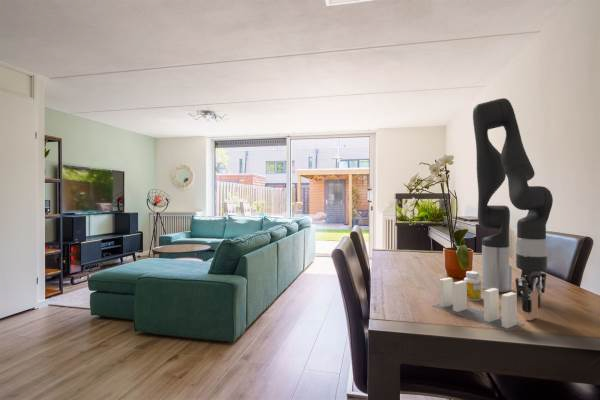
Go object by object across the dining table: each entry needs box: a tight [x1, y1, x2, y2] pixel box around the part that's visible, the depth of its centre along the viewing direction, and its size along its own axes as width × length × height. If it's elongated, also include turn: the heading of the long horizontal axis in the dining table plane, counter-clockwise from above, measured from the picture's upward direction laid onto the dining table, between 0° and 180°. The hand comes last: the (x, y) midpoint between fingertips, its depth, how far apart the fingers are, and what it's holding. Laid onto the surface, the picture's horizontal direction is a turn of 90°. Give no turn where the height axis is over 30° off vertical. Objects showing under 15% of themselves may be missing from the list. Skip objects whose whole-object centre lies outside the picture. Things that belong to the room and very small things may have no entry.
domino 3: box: [483, 288, 500, 322], centre depth 96 cm, size 2×5×9 cm, turn 121°
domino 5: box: [523, 287, 539, 321], centre depth 96 cm, size 2×5×9 cm, turn 122°
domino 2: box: [453, 280, 468, 312], centre depth 105 cm, size 2×5×9 cm, turn 121°
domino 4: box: [501, 291, 518, 328], centre depth 92 cm, size 2×5×9 cm, turn 121°
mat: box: [432, 303, 526, 332], centre depth 101 cm, size 24×9×1 cm, turn 31°
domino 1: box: [438, 276, 454, 307], centre depth 109 cm, size 2×5×9 cm, turn 121°
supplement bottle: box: [463, 270, 482, 301], centre depth 116 cm, size 5×5×10 cm
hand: (531, 309), depth 96 cm, fingers closed on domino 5, 5 cm apart
